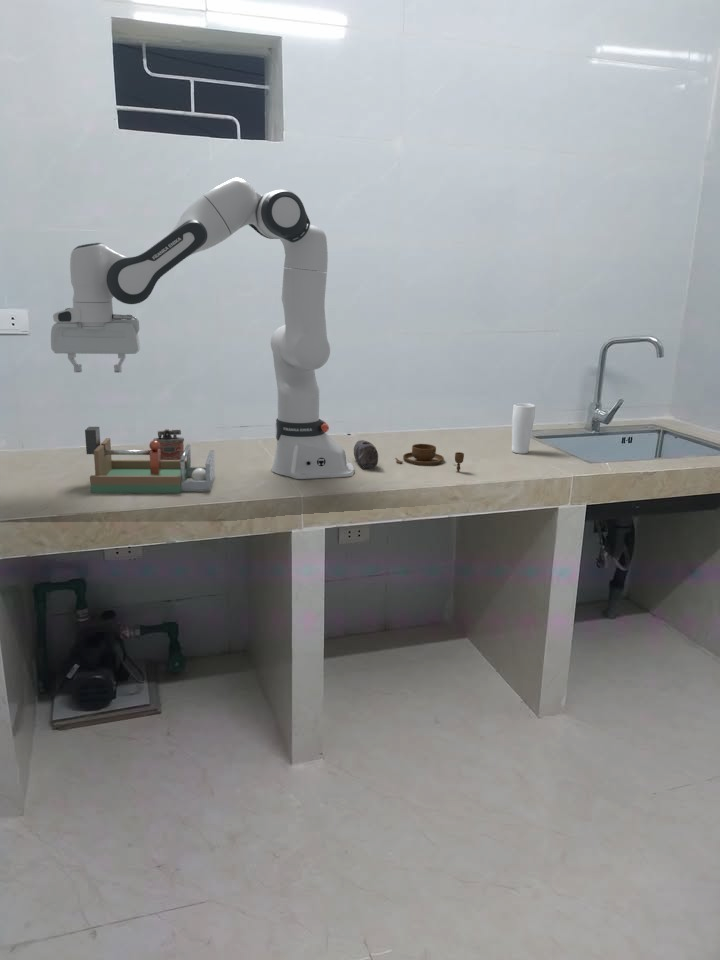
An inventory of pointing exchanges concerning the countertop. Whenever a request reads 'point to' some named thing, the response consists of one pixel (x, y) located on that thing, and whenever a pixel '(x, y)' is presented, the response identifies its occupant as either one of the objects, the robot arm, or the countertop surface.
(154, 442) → the rod
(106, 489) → the pitch
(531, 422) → the drinking glass
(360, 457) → the perforated stone tool
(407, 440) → the countertop surface
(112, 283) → the robot arm
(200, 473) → the ball
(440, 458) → the place setting
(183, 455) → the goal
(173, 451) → the lighter
